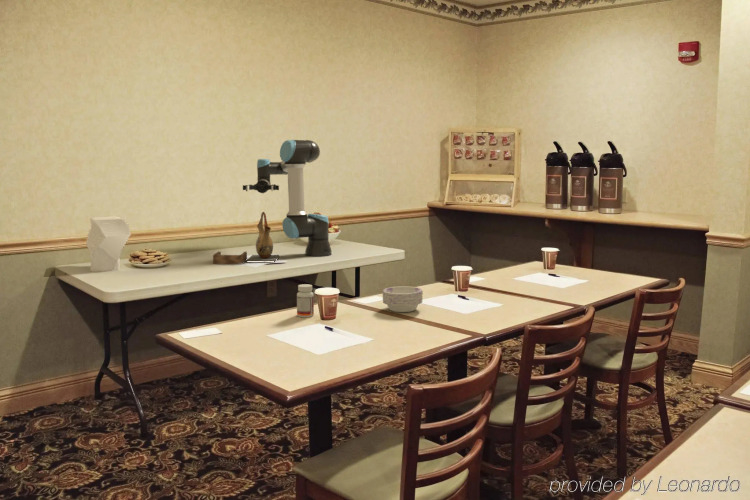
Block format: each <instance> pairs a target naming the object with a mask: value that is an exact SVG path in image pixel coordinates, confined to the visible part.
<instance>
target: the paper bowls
mask: <svg viewBox="0 0 750 500" xmlns="http://www.w3.org/2000/svg"><path fill="white" fill-rule="evenodd" d="M423 295H424V294H423V289H422V288H420V287H416V286H407V285H406V286H404V285H401V286H400V285H399V286H390V287H386V288H384V289H382V303H383V304H384V305H387V308H388V310H389V311H392V312H396V313H411V312H414V311H416V310H417V308H418V306H419V305H420V304H422V303H423Z"/></svg>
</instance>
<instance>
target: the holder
mask: <svg viewBox="0 0 750 500" xmlns="http://www.w3.org/2000/svg"><path fill="white" fill-rule="evenodd" d="M221 253H222V252H221V251H217V252H216V253H214V254H213V255H212V263H213V264H214V265H215V264H216V265H239V264H238V263H243V262H244V261H245V260H246V259H248V252H247V251H243V252H242V253H241V254H221ZM246 261H247V260H246ZM246 261H245V262H246ZM245 262H244V263H245ZM244 263H243V264H244Z"/></svg>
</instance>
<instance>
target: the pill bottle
mask: <svg viewBox="0 0 750 500" xmlns="http://www.w3.org/2000/svg"><path fill="white" fill-rule="evenodd" d="M297 290H298V292H297V293H296V316H298V317H299V318H310V317H313V316H314V315H315V314H314V313H315V305H314V303H315V301H314V300H315V299H314V298H315V296H314V292H312V291H313V285H312V284H307V283H306V284H305V283H304V284H303V283H302V284H298V286H297Z"/></svg>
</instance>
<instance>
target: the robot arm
mask: <svg viewBox="0 0 750 500" xmlns="http://www.w3.org/2000/svg"><path fill="white" fill-rule="evenodd" d="M320 155H321V150H320V147H319V145H318V144H317V142H315V141H313V140H309V139H289V140H287V139H286V140H285V141H283V143H281V146H280V150H279V157H280V160H281V161H275V162H274V161H271V160H270V159H269V158H259V159H257V162H256V169H257V170H256V171H257V174H256V175H257V177H256V178H257V182H256V183H255V184H248V185H246V184H245V185H242V190H243V191H245V192H249V191H250V190H251V191H253V190H254V191H257V192H258V193H260V194H265V193H267V192H268V191H271V192H273V191H279V190H280V185H279V184H278V185H277V184H271V176H275V175H279V176H281V175H285V176H286V175H287V193H288V212H287V213H286V217H285V218H284V219H283V220H282V230H283V232H284V235H285V236H286V237H287V238H289V239H295V240H296V239H301V238H307V244H306V247H305V251H304V254H305V256H311V257H326V256H331V255H333V253H332V252H333V251H332V247H331V244H330V240H329V234H330V233H329V229H330V228H329V224H330V222H329V217H328V215H325V214H319V213H317V214H316V213H307V212H306V211H305V187H304V185H305V182H304V167H305V166H306V165H307V163H313V162H314V161H317V159H318V158H319V157H320Z"/></svg>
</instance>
